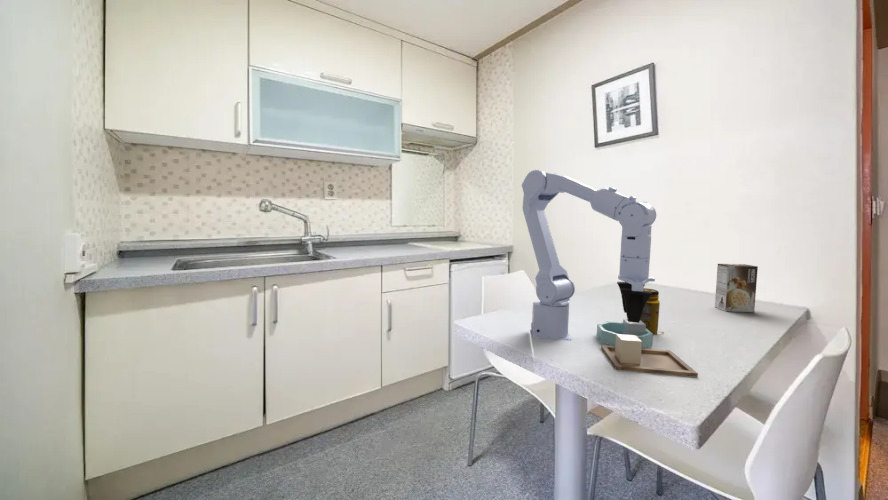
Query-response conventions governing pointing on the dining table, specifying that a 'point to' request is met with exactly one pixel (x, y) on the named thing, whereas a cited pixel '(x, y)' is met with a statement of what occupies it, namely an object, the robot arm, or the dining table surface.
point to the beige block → (628, 348)
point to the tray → (652, 362)
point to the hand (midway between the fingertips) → (631, 317)
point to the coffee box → (736, 287)
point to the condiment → (651, 312)
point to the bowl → (610, 329)
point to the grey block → (633, 328)
